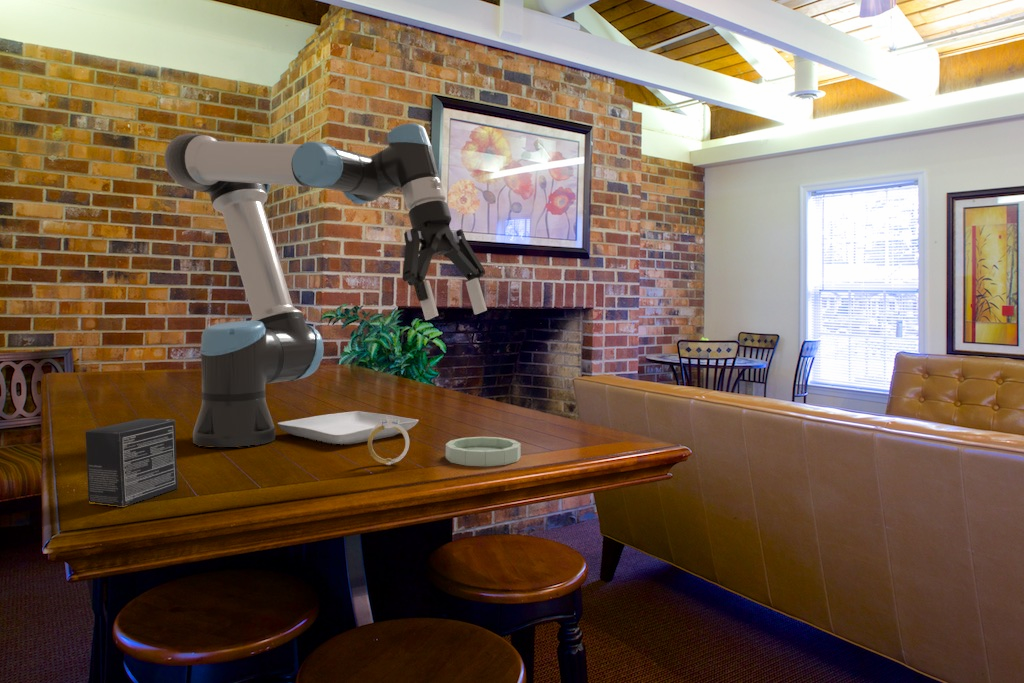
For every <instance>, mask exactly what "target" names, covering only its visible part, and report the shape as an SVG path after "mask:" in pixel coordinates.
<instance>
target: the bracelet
mask: <svg viewBox="0 0 1024 683" xmlns="http://www.w3.org/2000/svg"><path fill="white" fill-rule="evenodd" d="M380 420H381V423H379V424H378V425H376V426H375V427H374V428H373V429H372V431H371V433H370V435H369V438H368V441H367V449H368V452H369V454H370V455H371V457H372V458H373V459H374V460H375V461H376V462H378V463H381V464H384V465H386V466H391V465H392V464H396V463H398V462H401V460H402V459H403V458H404V457H405V456H407V452H408V451H409V447H410V437H409V436H410V435H409V434H408V431H406V430H405V429H404V428H403V427H402V426H400V425H399V422H400V420H398V422H397V423H396V419H395V420H394V421H393V418H391V419H388V418H386V421H384V422H383V420H382V419H380ZM392 427H393V428H395V429H397V430H398V431H400V432H401V433H400V434H402V435H403V438H404V442H405V444H404V449H403V451H402V453H401V454H400V455H398V456H397V457H395V458H391V457H387V458H382V457H381V456H379V455H378V454H377V453H376V452H375V450H374V448H373V441H374V440H373V438H374V436H375V435H376V434H377V433H378V432H380V431H382V430H384V428H392Z"/></svg>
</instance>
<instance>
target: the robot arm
mask: <svg viewBox="0 0 1024 683" xmlns="http://www.w3.org/2000/svg"><path fill="white" fill-rule="evenodd" d="M387 143H388V144H387V145H388V146H387V147H385V148H384V149H382V150H380V151H378V152H376V153H375V154H373V155H372V154H371V155H369V156H368V155H365V154H362V153H357V152H354V151H350V150H346V149H343V148H340V147H336V146H333V145H330V144H329V143H325V142H319V141H317V142H316V141H305V142H304V143H302V144H296V143H273V142H271V143H268V142H248V141H245V142H244V141H228V140H226V139H221V138H217V137H213V136H210V135H204V134H201V133H193V132H190V133H184V134H179V135H178V136H176V137H174V138H173V139H172V140H170V142H169V143H168V144H167V146H166V148H165V152H164V158H163V159H164V165H165V169H166V170H167V173H168V174H169V176H170V177H171V178H172V179H173V181H174V182H176V183H177V184H178V185H180V186H182V187H184V188H185V189H188V190H192V191H196V192H201V193H206V194H208V195H209V199H210V201H211V205H212V208H213V209H214V210H215V211H216V212H219V213H220V214H222V216H223V220H224V223H225V227H226V230H227V233H228V236H229V237H228V238H229V241H230V244H231V248H232V251H233V254H234V258H235V262H236V265H237V268H238V272H239V275H240V279H241V281H242V286H243V289H244V293H245V295H246V296H245V297H246V298H247V302H248V305H249V309H250V313H251V316H252V317H251V319H250V320H239V321H228V322H227V321H226V322H222V323H216V324H213V325H210V326H207V327H206V328H204V330H203V331H202V333H201V343H200V344H201V346H200V348H199V349H200V364H201V398H202V399H201V406H200V410H199V413H198V415H197V419H196V422H195V423H194V428H193V431H192V443H195V444H197V445H202V446H214V447H236V446H248V447H251V446H250V445H255V446H260V444H261V445H265V444H267V443H268V444H269V443H271V442H273V441H274V440H276V427H275V425H274V424H275V423H274V422H273V421H274V420H273V419H272V416H271V413H270V410H269V408H268V404H267V401H266V384H273V383H280V382H295V381H297V380H301V379H304V378H307V377H309V376H311V375H313V374H315V372H317V370H318V369H319V366H320V364H321V362H322V360H323V357H324V351H325V350H324V348H325V347H324V340H323V337H322V335H321V333H320V331H318V330H317V328H315V327H314V326H312V325H309V324H306V320H305V317H304V312H303V311H301V310H299V308H298V309H297V308H296V307H294V305H293V302H292V298H291V296H290V291H289V288H288V285H287V281H286V278H285V274H284V271H283V268H282V266H281V265H282V264H281V261H280V257H279V255H278V251H277V247H276V244H275V241H274V238H273V234H272V231H271V228H270V223H269V221H268V217H267V213H266V210H265V208H264V205H265V203H266V202H267V200H268V198H269V197H268V193H269V192H270V190H271V188H272V185H276V186H291V187H305V188H311V189H313V188H314V189H327V190H332V191H338V192H342V193H343V195H344V196H345V198H346V199H348V200H350V201H351V203H353V204H355V205H359V206H360V205H364V204H368V203H370V202H374V201H376V200H378V199H379V198H381V197H382V196H384V195H386V194H389V193H390V192H393V191H395V190H397V189H399V188H401V192H402V195H403V196H402V197H403V200H404V204H405V208H406V210H408V217H409V221H410V225H411V229H410V230H407V231H406V232H404V234H403V236H404V241H405V246H404V247H405V248H404V257H403V258H404V259H403V268H402V281H404V282H406V283H407V284H408V286H410V287H412V286H413V287H414V290H415V294H416V298H417V300H418V301H419V303H420V306H421V310H422V312H423V316H424V319H425V320H424V321H428V320H431V319H433V318H435V317H438V316H439V311H438V309H437V305H436V300H435V297H434V294H433V291H432V290H433V289H432V287H431V286H432V285H431V282H430V280H428V279H427V280H425V279H426V276H427V273H428V270H429V268H430V264H431V262H432V259H433V256H435V255H437V256H443V257H444V258H447V259H448V260H449V261H450V262H451V263H453V265H454V266H455V267H456V268H457V269H458V271H459V272H460V273H461V274H462V275H463V276H464V277H465V279H467V281H466V282H465V285H466V288H467V289H466V290H467V293H468V297H469V300H470V304H471V307H472V311H473V314H474V315H479V314H481V313H484V312H486V311H488V308H487V304H486V301H485V298H484V290H483V287H482V283H481V280H480V278H482V277H483V276H484V275H486V269H485V268H484V266H483V265H482V263H481V262H480V260H479V259H478V257H477V255H476V254H475V252H474V251H473V248H472V247H471V245H470V244H469V242H468V241H467V238H466V236H465V233H464V231H463V229H461V228H459V229H458V230H455V231H452V229H451V228H450V223H451V222H452V216H451V212H450V208H449V205H448V203H447V201H446V196H445V192H444V189H443V185H442V182H441V178H440V174H439V172H438V167H437V163H436V160H435V155H434V152H433V146H432V144H431V141H430V138H429V135H428V133H427V129H426V128H425V127H424V126H423V125H422V124H418V123H416V122H410V123H402V124H400V125H397V126H395V127H393V128H391V130H390V131H389V132H388V133H387Z"/></svg>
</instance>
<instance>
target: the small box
mask: <svg viewBox="0 0 1024 683" xmlns="http://www.w3.org/2000/svg"><path fill="white" fill-rule="evenodd" d="M176 440H177V439H176V420H175V419H170V418H169V419H165V418H138V419H134V420H130V421H126V422H121V423H116V424H112V425H107V426H102V427H97V428H93V429H87V430H85V447H86V448H85V449H86V468H87V469H86V470H87V474H86V475H87V492H88V493H87V494H88V496H87V497H88V501H90V502H95V503H102V504H110V505H118V506H125V505H129V504H133V503H135V504H137V503H136V502H138V503H140V502H139V501H141V502H143V501H142V500H144V501H146V500H149V499H152V498H154V496H155V497H157V496H160V494H161V495H163V494H167V493H169V492H172V491H174V490H178V489H179V485H178V484H179V483H178V468H177V467H178V466H177V444H176ZM177 488H178V489H177ZM133 505H134V504H133Z"/></svg>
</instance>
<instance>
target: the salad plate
mask: <svg viewBox="0 0 1024 683" xmlns="http://www.w3.org/2000/svg"><path fill="white" fill-rule="evenodd" d="M386 418H388V419H391V418H393V421H394V420H395V419H396V423H397V422H398V420H400V422H399V425H400V426H402V427H403V428H404V429H405V430H406V432H408V431H409V430H411V429H412V428H413V427H415V426H416V425H417V424H418V423H419V419H417V418H416V419H415V418H409V417H405V416H404V417H403V416H399V415H398V416H397V415H393V414H392V415H390V414H386V413H385V414H383V413H375V412H369V411H360V410H355V411H354V410H353V411H347V412H337V413H329V414H328V413H327V414H322V415H321V414H320V415H314V416H310V417H309V416H308V417H304V418H298V419H291V420H285V421H279V422H277V423H276V425H277V427H279V428H280V429H281V430H282V431H284V432H285V433H288V434H290V435H293V436H296V437H299V438H303V437H304V439H307V438H308V440H312V441H316V440H317V441H316V442H321V441H322V442H321V443H327V444H331V443H332V445H336V444H340V445H339V446H342V445H343V444H344V445H352V444H353V445H354V444H359V443H365V442H368V438H369V435H370V433H371V431H372V429H373V428H374V427H375V426H376V425H378V424H379V423H381V420H380V419H382V420H383V422H384V421H386ZM398 434H402V433H401V432H400V431H398V430H397V429H395V428H393V427H392V428H384V430H382V431H380V432H378V433H377V434H376V435H375V436H374V438H373V440H372V441H375V440H379V439H384V438H385V439H386V438H391V437H394V436H396V435H398ZM344 445H343V446H344Z"/></svg>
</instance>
